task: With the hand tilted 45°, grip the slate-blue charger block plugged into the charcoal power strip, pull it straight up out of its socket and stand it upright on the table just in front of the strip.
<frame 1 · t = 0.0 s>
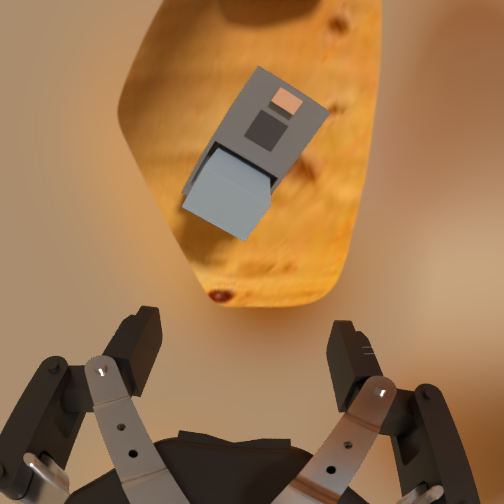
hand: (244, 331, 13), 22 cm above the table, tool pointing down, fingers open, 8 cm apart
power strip: (253, 145, 30), on the table
charger: (235, 174, 30), point 1 cm above the table, touching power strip
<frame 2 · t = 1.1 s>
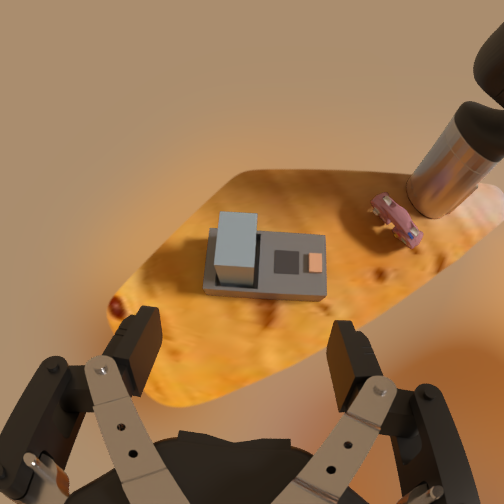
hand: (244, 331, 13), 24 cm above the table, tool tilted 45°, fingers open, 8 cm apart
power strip: (265, 269, 39), on the table
pink curved toy: (391, 226, 42), on the table
charger: (238, 264, 38), point 1 cm above the table, touching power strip
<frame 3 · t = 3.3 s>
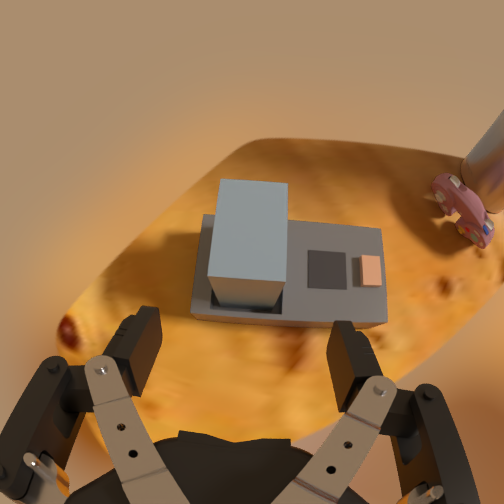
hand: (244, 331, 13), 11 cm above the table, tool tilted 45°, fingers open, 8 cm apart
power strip: (289, 280, 25), on the table
pink curved toy: (451, 219, 28), on the table
charger: (249, 272, 24), point 1 cm above the table, touching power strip
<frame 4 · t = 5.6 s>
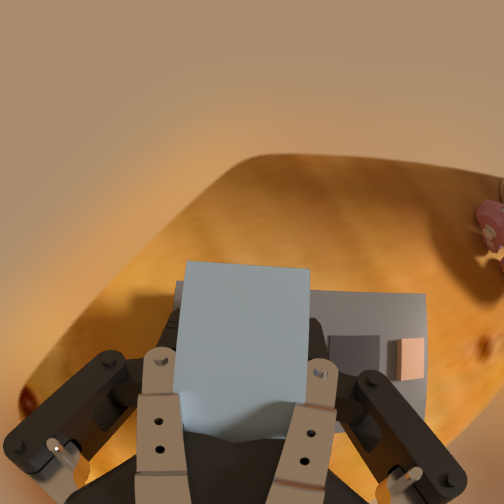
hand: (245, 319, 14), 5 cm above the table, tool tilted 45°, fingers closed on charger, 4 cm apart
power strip: (298, 362, 18), on the table
pink curved toy: (494, 255, 21), on the table
charger: (243, 360, 16), point 2 cm above the table, touching gripper, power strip
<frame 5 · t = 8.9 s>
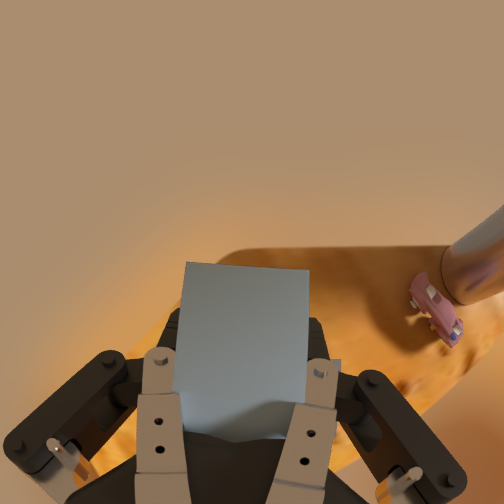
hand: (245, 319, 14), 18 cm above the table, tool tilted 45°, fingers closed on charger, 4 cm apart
pink curved toy: (426, 313, 32), on the table
charger: (243, 360, 16), point 14 cm above the table, touching gripper
when the fingers open (5 cm above the table, at t = 12.1 s): charger drops 1 cm, on the table.
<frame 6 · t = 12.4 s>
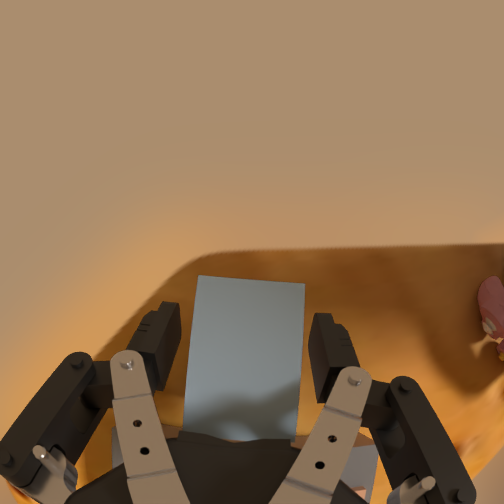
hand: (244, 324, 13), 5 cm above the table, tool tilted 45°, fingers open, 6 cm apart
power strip: (242, 485, 14), on the table
pink curved toy: (492, 336, 18), on the table
charger: (245, 360, 18), on the table
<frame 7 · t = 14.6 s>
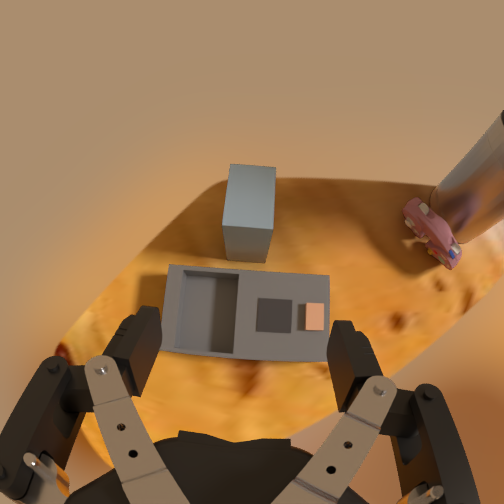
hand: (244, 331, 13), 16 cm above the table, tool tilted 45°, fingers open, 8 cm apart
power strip: (245, 318, 29), on the table
pink curved toy: (422, 240, 33), on the table
charger: (248, 235, 32), on the table
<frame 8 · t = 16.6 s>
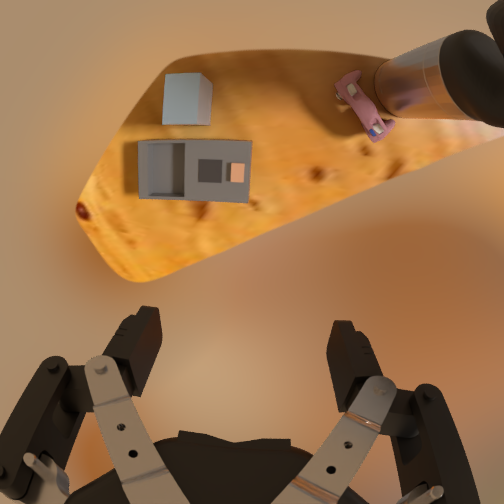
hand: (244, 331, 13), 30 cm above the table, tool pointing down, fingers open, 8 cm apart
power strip: (197, 167, 39), on the table
pink curved toy: (359, 106, 35), on the table
charger: (197, 104, 36), on the table
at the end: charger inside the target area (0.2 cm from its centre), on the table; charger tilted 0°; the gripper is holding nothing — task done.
